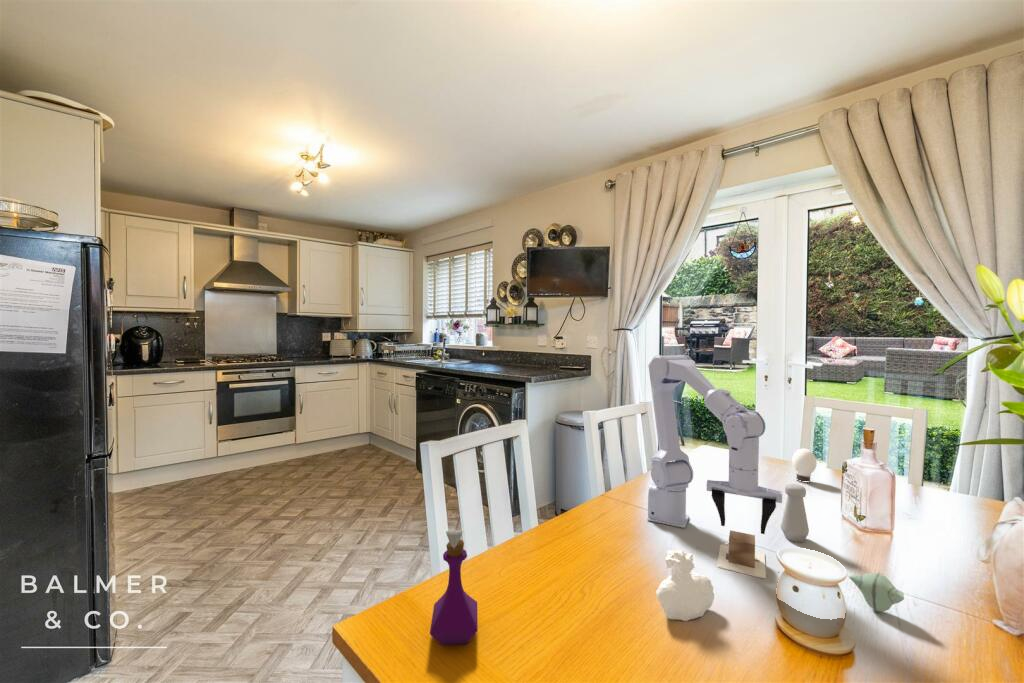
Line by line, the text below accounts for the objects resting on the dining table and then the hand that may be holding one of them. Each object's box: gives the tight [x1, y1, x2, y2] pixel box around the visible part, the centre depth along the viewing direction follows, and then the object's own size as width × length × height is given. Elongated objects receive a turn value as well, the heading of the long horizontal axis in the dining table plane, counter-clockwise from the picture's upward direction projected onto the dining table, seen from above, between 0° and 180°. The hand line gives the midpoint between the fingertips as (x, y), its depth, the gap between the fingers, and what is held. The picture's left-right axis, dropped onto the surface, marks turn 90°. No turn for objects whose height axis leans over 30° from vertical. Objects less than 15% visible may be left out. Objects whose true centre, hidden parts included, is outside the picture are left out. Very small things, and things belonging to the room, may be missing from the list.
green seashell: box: [848, 571, 905, 613], centre depth 79 cm, size 8×4×7 cm, turn 34°
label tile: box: [716, 543, 767, 580], centre depth 96 cm, size 9×11×1 cm
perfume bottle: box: [429, 529, 479, 646], centre depth 72 cm, size 8×8×18 cm
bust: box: [655, 548, 715, 622], centre depth 80 cm, size 12×8×11 cm
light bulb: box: [791, 448, 817, 482], centre depth 146 cm, size 7×7×11 cm
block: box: [728, 530, 756, 568], centre depth 96 cm, size 5×5×5 cm
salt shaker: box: [780, 483, 810, 543], centre depth 106 cm, size 6×6×13 cm
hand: (742, 528), depth 96 cm, fingers open, 7 cm apart
